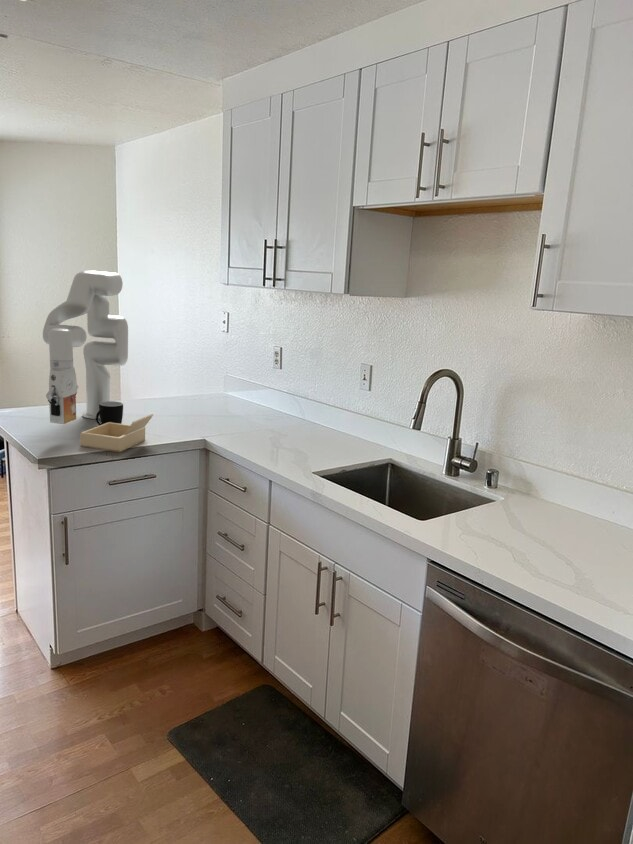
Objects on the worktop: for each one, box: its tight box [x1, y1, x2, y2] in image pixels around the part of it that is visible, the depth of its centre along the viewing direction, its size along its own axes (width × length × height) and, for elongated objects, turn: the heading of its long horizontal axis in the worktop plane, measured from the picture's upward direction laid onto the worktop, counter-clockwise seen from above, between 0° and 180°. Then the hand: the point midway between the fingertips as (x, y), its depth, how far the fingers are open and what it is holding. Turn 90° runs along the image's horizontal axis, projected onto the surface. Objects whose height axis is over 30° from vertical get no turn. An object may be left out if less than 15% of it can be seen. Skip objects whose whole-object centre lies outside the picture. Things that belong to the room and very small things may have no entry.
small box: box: [48, 394, 77, 425], centre depth 220 cm, size 8×6×10 cm
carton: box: [79, 422, 146, 453], centre depth 225 cm, size 18×15×5 cm
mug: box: [95, 400, 124, 426], centre depth 242 cm, size 12×9×10 cm
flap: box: [124, 413, 154, 435], centre depth 222 cm, size 14×6×1 cm
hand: (63, 412), depth 221 cm, fingers closed on small box, 8 cm apart
